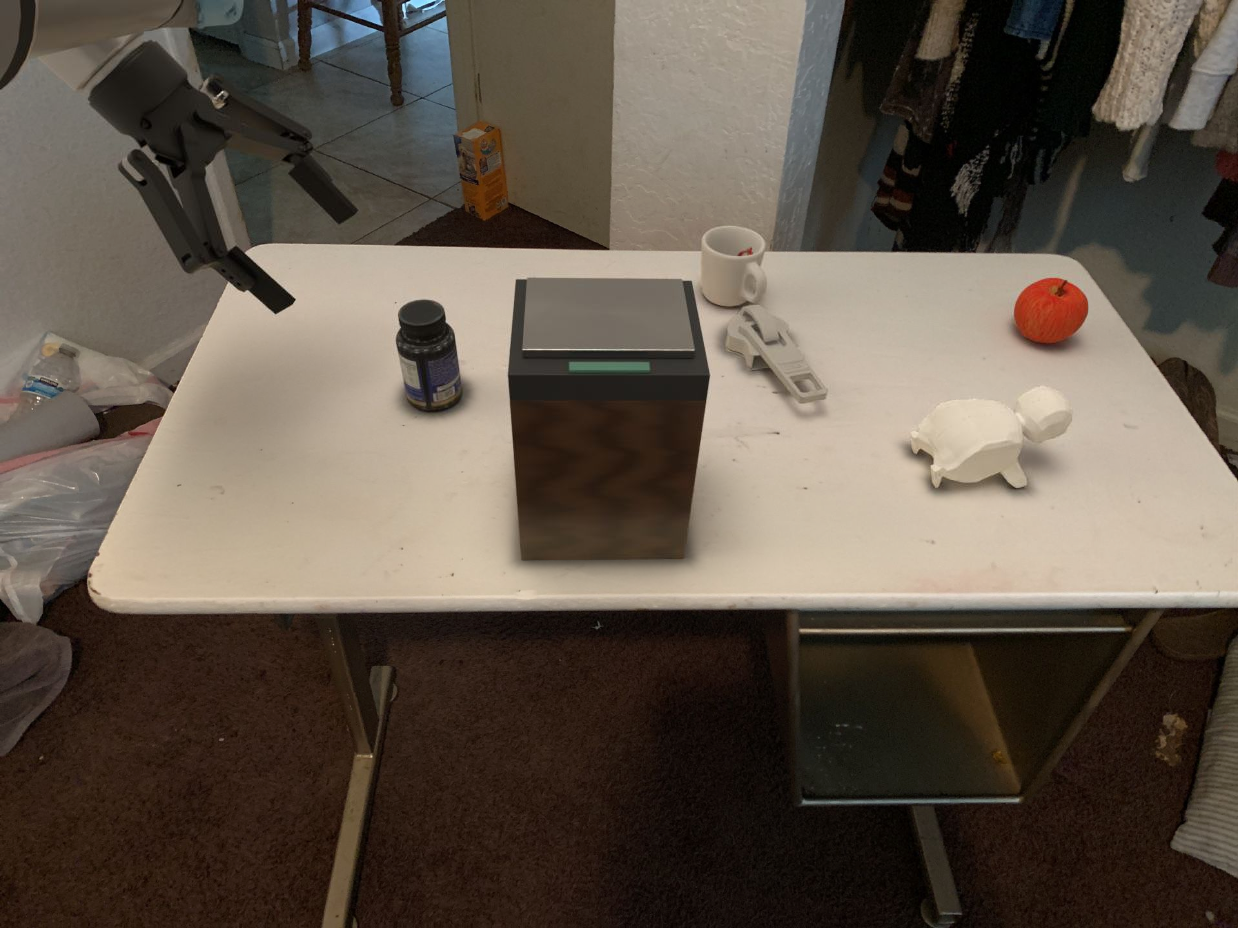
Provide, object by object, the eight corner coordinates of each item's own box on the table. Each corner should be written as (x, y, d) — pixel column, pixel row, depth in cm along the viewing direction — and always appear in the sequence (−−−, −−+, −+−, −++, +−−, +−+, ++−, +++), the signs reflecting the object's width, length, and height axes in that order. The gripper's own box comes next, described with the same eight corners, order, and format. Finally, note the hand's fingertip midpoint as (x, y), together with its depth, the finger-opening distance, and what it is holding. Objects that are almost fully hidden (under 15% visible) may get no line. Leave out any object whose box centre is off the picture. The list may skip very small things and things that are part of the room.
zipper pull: (777, 423, 91) (784, 393, 88) (713, 330, 103) (717, 301, 100) (841, 410, 93) (850, 380, 90) (770, 320, 105) (776, 291, 102)
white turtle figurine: (943, 516, 86) (1087, 465, 84) (938, 464, 80) (1093, 408, 78) (908, 459, 92) (1043, 410, 90) (902, 407, 86) (1045, 354, 84)
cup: (782, 314, 106) (793, 259, 101) (731, 331, 103) (740, 275, 97) (732, 274, 113) (741, 219, 107) (683, 288, 110) (689, 233, 104)
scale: (509, 400, 63) (507, 366, 61) (517, 304, 72) (515, 270, 70) (706, 400, 64) (711, 366, 61) (689, 305, 73) (692, 272, 71)
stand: (521, 560, 76) (509, 400, 63) (526, 461, 85) (517, 304, 72) (684, 558, 77) (706, 400, 64) (671, 460, 86) (689, 305, 73)
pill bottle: (464, 377, 95) (454, 294, 87) (460, 413, 90) (449, 329, 83) (409, 378, 94) (394, 295, 87) (403, 413, 90) (386, 329, 82)
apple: (1061, 319, 108) (1088, 264, 102) (1079, 356, 102) (1109, 301, 96) (998, 313, 108) (1022, 259, 102) (1013, 350, 102) (1039, 295, 97)
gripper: (177, 20, 77) (349, 199, 89) (-4, 172, 62) (232, 362, 74) (218, -24, 73) (394, 170, 85) (35, 127, 58) (279, 337, 70)
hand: (319, 260), depth 79 cm, fingers open, 13 cm apart
